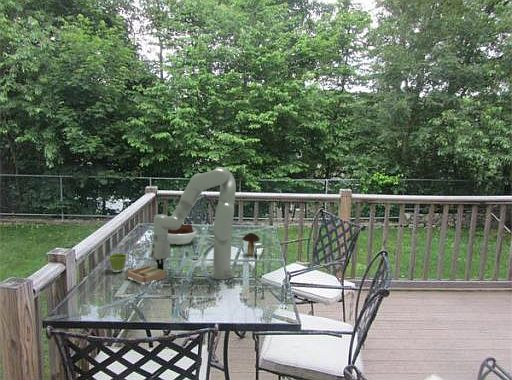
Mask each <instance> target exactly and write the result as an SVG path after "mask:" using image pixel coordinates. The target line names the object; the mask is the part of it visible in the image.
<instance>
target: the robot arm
mask: <svg viewBox="0 0 512 380" xmlns="http://www.w3.org/2000/svg"><path fill="white" fill-rule="evenodd" d="M218 186H220V187H219V195H218V196H219V197H218V203H217V206H216V207H215V213H214V221H213V231H212V234H213V236H214V237H213V254H212V255H213V256H212V257H213V259H212V260H213V261H212V271H211V272H210V273H209V277H211V279H214V278H215V280H229V279H231V278H233V277H235V275H236V272H234V271H233V268H232V267H231V266H232V265H231V261H232V260H231V259H232V239H233V238H232V236H233V224H234V223H233V222H234V216H235V200H236V191H237V189H236V188H237V184H236V179H235V177H234V175H233V174H232V172H231V171H230V170H228V169H227V168H226V167H223V166H218V167H216V168H214V169H213V170H209V171H205V172H202V173H199V172H198V173H195V174H194V175H192V177H190V180H189V182H188V184H187V186H186V187H185V189H184V191H183V192H182V194H181V196H180V199H179V203H178V204H177V205H176V207H175V209H174V211H173V212H172V214H171V215H170V216H169V215H167V214H161V213H160V214H159V213H158V214H156V215H154V217H153V236H152V237H151V238H152V243H151V248H150V253H151V254H150V256H151V261H152V262H156V264H157V265H156V268H157V269H161V270H163V271H164V263H165V262H166V260H167V259H168V258H170V256H171V244H170V242H169V239H168V229H170V230H177V229H179V228H180V227H181V225H182V224H183V225H184V222H185V220H186V219H187V217H188V215H189V213H190V212H191V210H192V209H193V207H195V204H197V202H198V200H199V198H200V196H201V195H202V193H203V192H204V190H208V189H211V188H215V187H218Z"/></svg>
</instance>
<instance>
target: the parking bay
mask: <svg viewBox="0 0 512 380" xmlns="http://www.w3.org/2000/svg"><path fill="white" fill-rule="evenodd" d="M149 268H151V266H150V265H149V264H148V265H145V266H140V267H137V268H134V269H130V270H127V271H126V274H125V275H126V276H128V277H131V278H133V279H136V280H138V281H141V282H148V281H153V280H159V279H163V280H165V279H164V278H166V279H167V275H166V274H167V272H166V270H163V271H162V272H159V273H155V274H152V275H149V276H146V277H143V276H141V275H138V274H137V273H139V272H140V271H143V270H146V269H149Z"/></svg>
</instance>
